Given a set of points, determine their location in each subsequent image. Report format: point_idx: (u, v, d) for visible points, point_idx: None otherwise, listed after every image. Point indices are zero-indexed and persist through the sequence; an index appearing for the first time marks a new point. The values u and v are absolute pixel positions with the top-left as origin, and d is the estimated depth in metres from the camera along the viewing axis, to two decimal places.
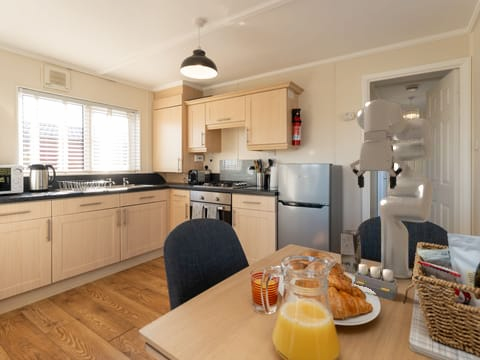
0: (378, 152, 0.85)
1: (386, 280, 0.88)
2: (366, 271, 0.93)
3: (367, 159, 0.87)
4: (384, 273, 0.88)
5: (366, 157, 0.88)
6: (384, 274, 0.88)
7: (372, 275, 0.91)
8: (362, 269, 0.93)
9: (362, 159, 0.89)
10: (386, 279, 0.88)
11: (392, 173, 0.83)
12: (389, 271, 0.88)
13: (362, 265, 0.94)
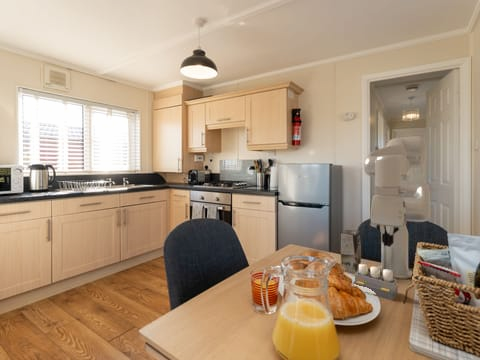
0: (390, 208, 0.85)
1: (386, 280, 0.88)
2: (366, 271, 0.93)
3: (378, 213, 0.87)
4: (384, 273, 0.88)
5: (377, 211, 0.88)
6: (384, 274, 0.88)
7: (372, 275, 0.91)
8: (362, 269, 0.93)
9: (373, 212, 0.89)
10: (386, 279, 0.88)
11: (389, 232, 0.86)
12: (389, 271, 0.88)
13: (362, 265, 0.94)
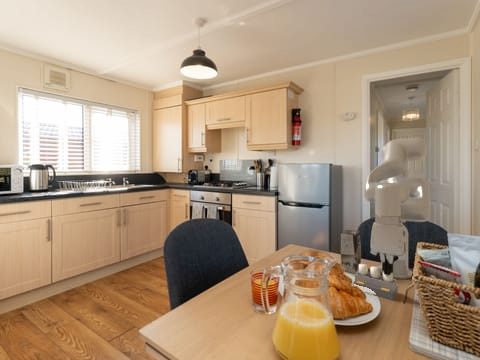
0: (390, 237, 0.85)
1: None
2: (366, 271, 0.93)
3: (378, 241, 0.88)
4: (384, 275, 0.88)
5: (377, 239, 0.88)
6: (384, 276, 0.88)
7: (372, 275, 0.91)
8: (362, 269, 0.93)
9: (373, 240, 0.89)
10: (386, 281, 0.88)
11: (389, 260, 0.87)
12: None
13: (362, 265, 0.94)
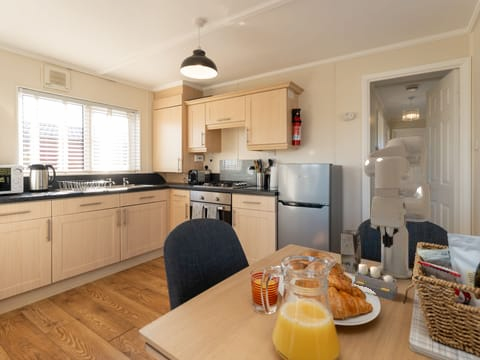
0: (390, 209, 0.85)
1: None
2: (366, 271, 0.93)
3: (378, 215, 0.88)
4: (384, 279, 0.88)
5: (377, 212, 0.88)
6: (384, 280, 0.88)
7: (372, 275, 0.91)
8: (362, 269, 0.93)
9: (373, 214, 0.89)
10: None
11: (389, 233, 0.87)
12: (389, 277, 0.88)
13: (362, 265, 0.94)
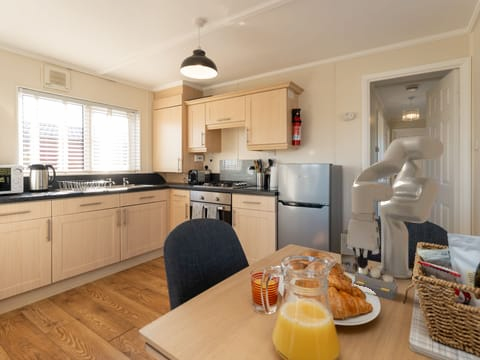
0: (364, 232, 0.91)
1: None
2: (366, 273, 0.93)
3: (354, 237, 0.93)
4: (384, 279, 0.88)
5: (353, 235, 0.93)
6: (384, 280, 0.88)
7: (372, 275, 0.91)
8: (362, 271, 0.93)
9: (350, 236, 0.94)
10: None
11: (363, 254, 0.92)
12: (389, 277, 0.88)
13: None
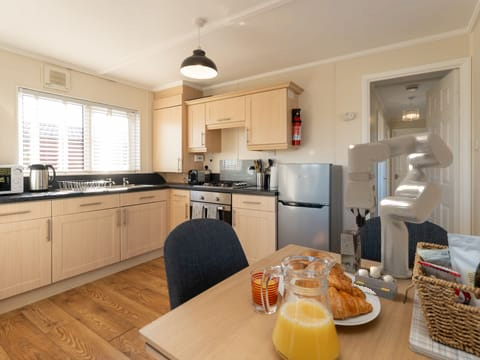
0: (361, 192, 0.93)
1: None
2: (366, 276, 0.93)
3: (352, 197, 0.95)
4: (384, 279, 0.88)
5: (351, 195, 0.95)
6: (384, 280, 0.88)
7: (372, 275, 0.91)
8: (362, 275, 0.93)
9: (347, 197, 0.96)
10: None
11: (361, 214, 0.94)
12: (389, 277, 0.88)
13: (362, 270, 0.94)
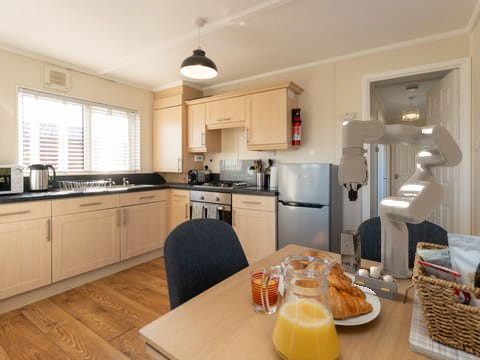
0: (354, 166, 0.96)
1: None
2: (366, 276, 0.93)
3: (344, 172, 0.99)
4: (384, 279, 0.88)
5: (344, 170, 0.99)
6: (384, 280, 0.88)
7: (372, 275, 0.91)
8: (362, 275, 0.93)
9: (340, 172, 1.00)
10: None
11: (353, 188, 0.98)
12: (389, 277, 0.88)
13: (362, 270, 0.94)
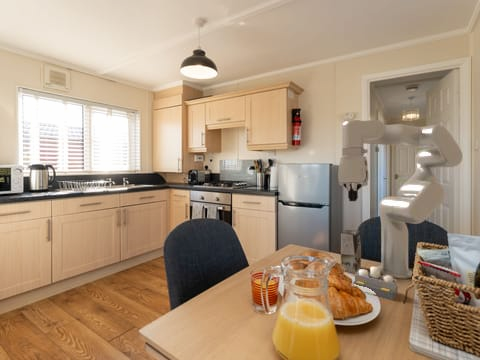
0: (354, 166, 0.96)
1: None
2: (366, 276, 0.93)
3: (344, 172, 0.99)
4: (384, 279, 0.88)
5: (344, 170, 0.99)
6: (384, 280, 0.88)
7: (372, 275, 0.91)
8: (362, 275, 0.93)
9: (340, 172, 1.00)
10: None
11: (353, 188, 0.98)
12: (389, 277, 0.88)
13: (362, 270, 0.94)
